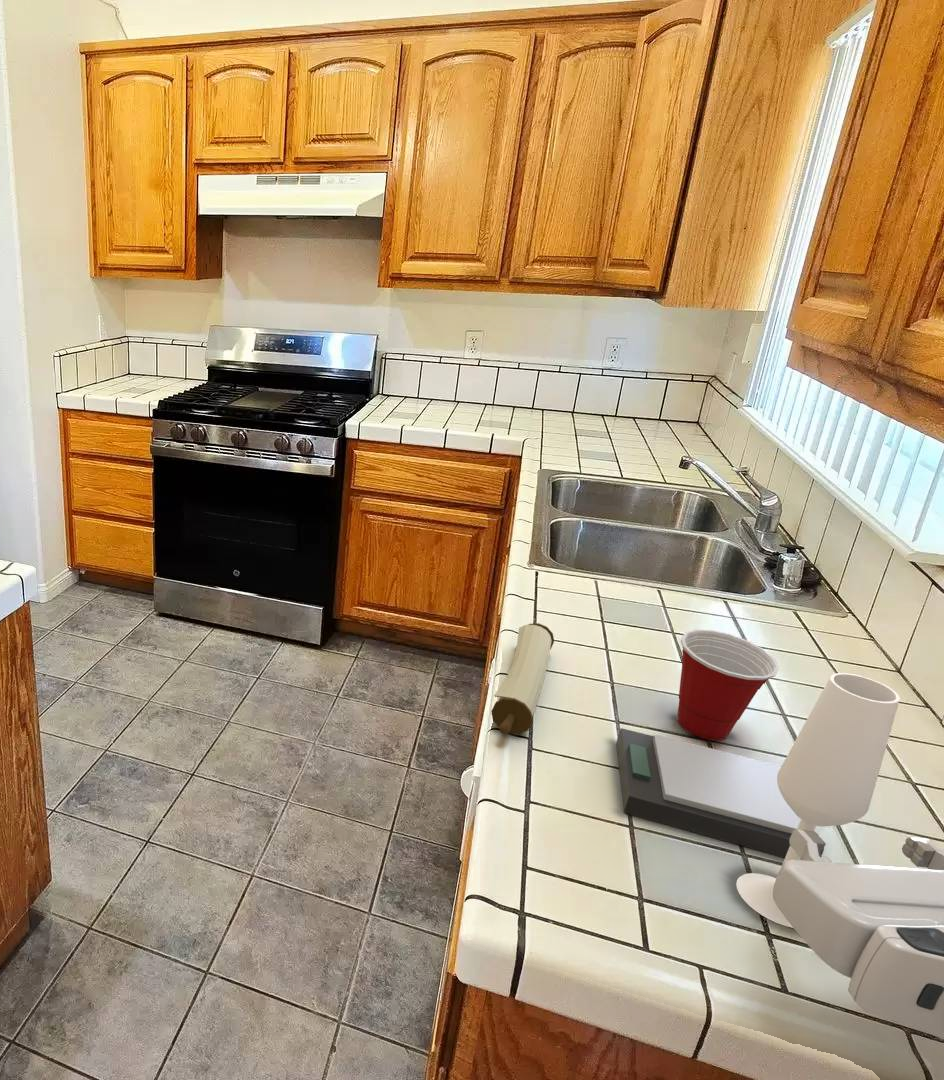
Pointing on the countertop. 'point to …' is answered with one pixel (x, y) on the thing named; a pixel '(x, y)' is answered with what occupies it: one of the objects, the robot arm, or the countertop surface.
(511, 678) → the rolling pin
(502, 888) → the countertop surface
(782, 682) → the countertop surface
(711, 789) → the kitchen scale
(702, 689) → the plastic cup
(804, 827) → the champagne flute
